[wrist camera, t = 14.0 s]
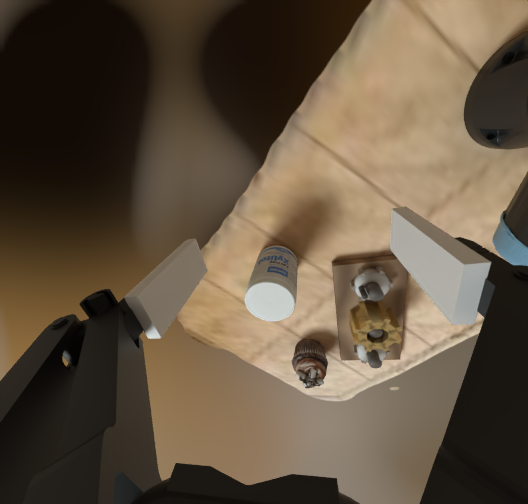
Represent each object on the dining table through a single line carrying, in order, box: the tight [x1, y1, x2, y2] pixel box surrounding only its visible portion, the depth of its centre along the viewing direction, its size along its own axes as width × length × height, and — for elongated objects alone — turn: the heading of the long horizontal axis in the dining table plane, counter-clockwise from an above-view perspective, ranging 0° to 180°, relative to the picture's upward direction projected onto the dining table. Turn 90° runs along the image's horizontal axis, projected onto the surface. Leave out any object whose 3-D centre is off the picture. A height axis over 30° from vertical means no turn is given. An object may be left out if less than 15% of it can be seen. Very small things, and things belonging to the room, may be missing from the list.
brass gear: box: [348, 301, 403, 352], centre depth 51 cm, size 10×10×6 cm
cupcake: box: [292, 339, 328, 388], centre depth 60 cm, size 10×10×10 cm
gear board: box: [332, 255, 407, 368], centre depth 52 cm, size 15×31×7 cm, turn 12°
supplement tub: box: [245, 245, 298, 321], centre depth 46 cm, size 10×10×15 cm
